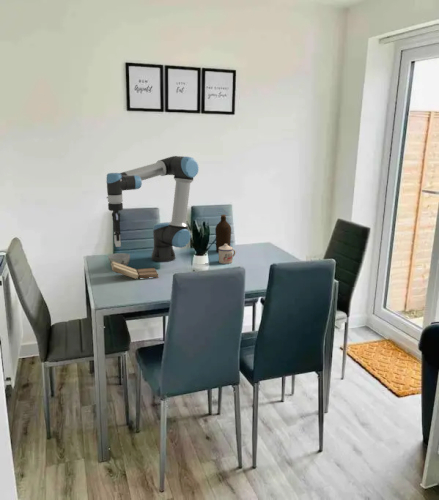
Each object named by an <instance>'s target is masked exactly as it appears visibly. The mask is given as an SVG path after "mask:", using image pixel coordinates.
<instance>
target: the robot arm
mask: <svg viewBox="0 0 439 500" xmlns="http://www.w3.org/2000/svg"><path fill="white" fill-rule="evenodd" d="M198 173H199V164H198V162H197V160H196V159H195V158H193V157H190V156H183V155H182V156H179V155H172V156H169V157H165V158H162V159H160V160H157V161H156V162H155V163H151V164H147V165H144V166H141V167H137V168H133V169H130V170H126V171H123V172H108V173H107V174H106V180H105V181H106V182H105V183H106V189H107V190H106V191H107V193H106V194H107V196H106V199H107V207H108V208H107V209H108V210H109V211H110V212H112V213H111V217H112V223H113V225H112V226H113V228H112V229H113V230H112V231H113V237H114V238H113V239H114V243H113V244H114V245H115V247H116V248H118V247H122V245H121V244H122V243H121V235H122V234H121V225H120V224H121V223H120V222H121V218H120V217H121V213H120V211H122V210H123V209H124V208H123V205H124V204H123V201H124V200H123V191H124V192H125V191H132V190H133V191H135V190H139V189H140V188H141V187H142V184H143V183H142V181H145V180H149V179H152V178H155V177H158V176H161V177H165V176H173V180H174V181H175V187H174V197H173V206H172V214H171V220H170V222H166V221H165V222H159V223H155V224H154V225H153V229H152V235H153V249H152V253H151V260H152V261H154V262H160V263H161V262H162V263H163V262H171V261H174V260H176V254H175V250H174V248H173V247H175V248H179V249H181V248H185V247H186V246H187V245H188V244H189V242H190V241H191V233H190V231H189V230H188V226H189V225H188V224H187V215H188V207H189V206H188V205H189V197H190V189H191V183H193V182H194V178H195V177H197V175H198Z"/></svg>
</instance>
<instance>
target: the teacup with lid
mask: <svg viewBox="0 0 439 500" xmlns="http://www.w3.org/2000/svg"><path fill="white" fill-rule="evenodd" d="M218 249H219V253H218V263H220V264H224V265H227V264H228V265H229V264H232V263H233V259H234V258H233V257H235V256H236V250H235V249H234V247H232V246H231V245H230V246H228V245H227V244H224V245H223V246H221V247H219V248H218Z"/></svg>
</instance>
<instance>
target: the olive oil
mask: <svg viewBox="0 0 439 500" xmlns="http://www.w3.org/2000/svg"><path fill="white" fill-rule="evenodd" d="M226 216H227V215H226V214H220V221H219V222H218V223H217V224H216V226H215V228H214V229H215V247H216V248H215V249H216V250H215V251H216V253H218V254H219V249H218V248H219V247H221V246H223V245H224V244H227V245H228V246H230V247H231V239H232V227H231V224H229V222H228V221H227V217H226Z"/></svg>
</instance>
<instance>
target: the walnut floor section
mask: <svg viewBox="0 0 439 500" xmlns="http://www.w3.org/2000/svg"><path fill="white" fill-rule="evenodd" d="M136 271H137V273H138V275H139V276H138V278H139V277H140V278H149V277H158V278H159V273H158V271H157V270H156V268H155V267H147V268H145V267H144V268H136ZM140 278H139V279H140Z"/></svg>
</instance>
